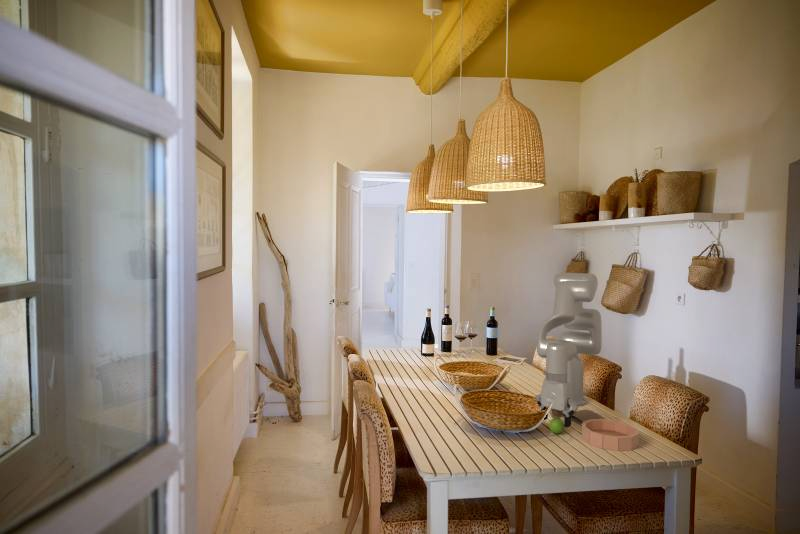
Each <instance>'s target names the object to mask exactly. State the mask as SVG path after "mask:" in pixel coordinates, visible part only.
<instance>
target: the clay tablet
mask: <svg viewBox="0 0 800 534" xmlns="http://www.w3.org/2000/svg"><path fill="white" fill-rule="evenodd" d="M562 415H565V414H564V412H563V414H562ZM572 416H573V417H575V418H576V419H578V420H579V421H581V423H582V422H585V421H587V420H592V419H605V418H604V417H603V416H602V415H601V414H599V413H597V412H594V411H593V410H590V409H586V408H585V409H580V410H577V411H576V413H575V414H573V415H572Z"/></svg>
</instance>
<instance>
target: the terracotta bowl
mask: <svg viewBox="0 0 800 534" xmlns="http://www.w3.org/2000/svg"><path fill="white" fill-rule="evenodd" d="M581 440H582V441H584V442H585V443H587V444H588V445H590V446H593V447H595V448H599V449H603V450H607V449H608V451H615V452H621V451H622V452H624V451H625V452H626V451H633V450H635V449H637V448H639V445H640V432H639V429H638V428H636V427H635V426H633V425H631V424H629V423H625V422H622V421H618V420H613V419H605V418H604V419H592V420H587V421H585V422H582V421H581Z"/></svg>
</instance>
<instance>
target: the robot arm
mask: <svg viewBox="0 0 800 534" xmlns="http://www.w3.org/2000/svg"><path fill="white" fill-rule="evenodd" d="M553 281H554V286H555V295H554V301H553V303H554V304H553V311H552V314H551V315H550V316H549V317H548V318H547V319H546V320H544V322H543V323H542V325H540V328H539V331H538V336H537V342H536V354H537V355H538V356H539V357H540V358H542V359H546V360H545V371H543V375H544V376H545V378H544V379H543V381H542V385H541V390H540V391H541V393H540V394H537V395H535V401H536V403H537V405H538V406H539V410H540V412H541V411H542V410H545V409H549V405H551V404H552V403H553V405H552V407H551V408H552V409H555V410H559V411H563V413H564V414H563V415H565V416H564V417H563V419H564V420H563V423H564V429H565V428H566V429H567V428H569V427H571V426H572V416H573V414H575V413H576V411H578V409H579V407H581V406H585V405H587V402H588V401H587V399H586V398H585V397H584V396H586V395H588V391H587V390H585V389H584V371H585V370H584V368H585V367H584V366H585V365H584V364H585V363H584V361H583V359H582V358H581V356H580V355H579V354H583V355H599V354H600V353H601V351H602V345H603V343H602V340H603V339H602V331H603V330H602V315H601V312H600V311H599V310H598V309H594V308H586V307H585V308H584V303H591V302H592V301H593V300H594V299H595V295H596V293H597V290H598V284H599V283H598V278H597V275H595V274H594V273H589V272H588V273H585V272H582V273H581V272H580V273H579V272H559V273H556V274H555V275H554V276H553ZM560 326H563V327H564V328H565V329H567V330H566V331H563V332H561V334H560V335H559V339H556V338H547V336H548V334H549V332H551V331H552V330H553V329H556V328H558V327H560ZM568 329H569V330H568ZM576 330H577V331H576ZM587 331H588V332H587ZM553 401H554V402H553ZM548 402H551V403H548ZM571 408H572V409H571ZM548 415H549V413H548V414H547V415H546V417H545V418H544V420H543V421H547V420H548Z"/></svg>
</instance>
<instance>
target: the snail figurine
mask: <svg viewBox="0 0 800 534" xmlns="http://www.w3.org/2000/svg"><path fill="white" fill-rule="evenodd" d="M548 403H551V402H548ZM549 407H550V405H549ZM548 413H549V415H550V417H551V420H549V423H548V426H549V430H550V432H552V433H554V434H556V435H557V434H562V433H563V431H565V427H564V420H562V417H563V415H564V414H563V413H564V412H563V411H559V410H555V409H552V408H551V409H550V411H548Z"/></svg>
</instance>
